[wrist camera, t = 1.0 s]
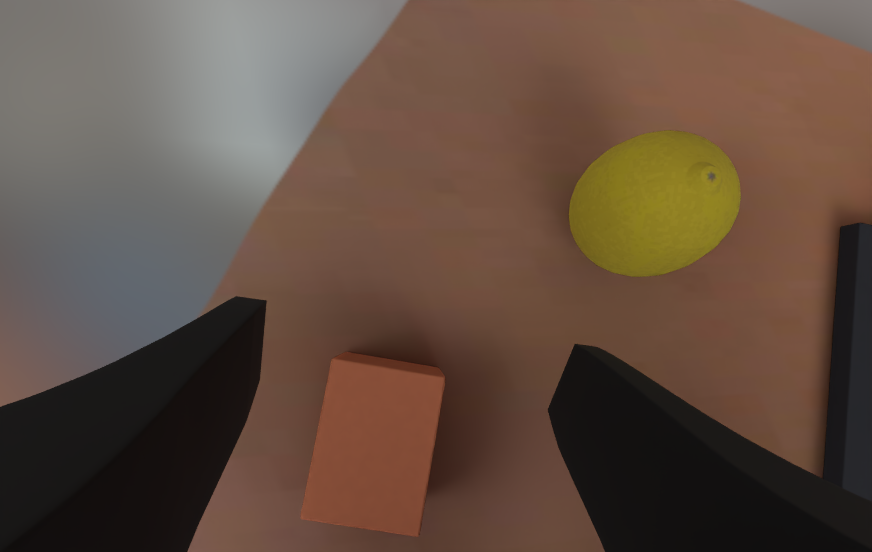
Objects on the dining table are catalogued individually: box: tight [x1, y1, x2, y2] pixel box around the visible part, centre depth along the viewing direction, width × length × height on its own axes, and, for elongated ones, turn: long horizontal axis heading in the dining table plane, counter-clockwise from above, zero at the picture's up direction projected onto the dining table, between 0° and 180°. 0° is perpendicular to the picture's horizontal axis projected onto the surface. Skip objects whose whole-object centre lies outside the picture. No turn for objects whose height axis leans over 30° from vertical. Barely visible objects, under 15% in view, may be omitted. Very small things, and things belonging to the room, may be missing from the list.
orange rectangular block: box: [301, 352, 446, 537], centre depth 18 cm, size 6×4×4 cm
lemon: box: [569, 130, 741, 277], centre depth 18 cm, size 6×6×8 cm
